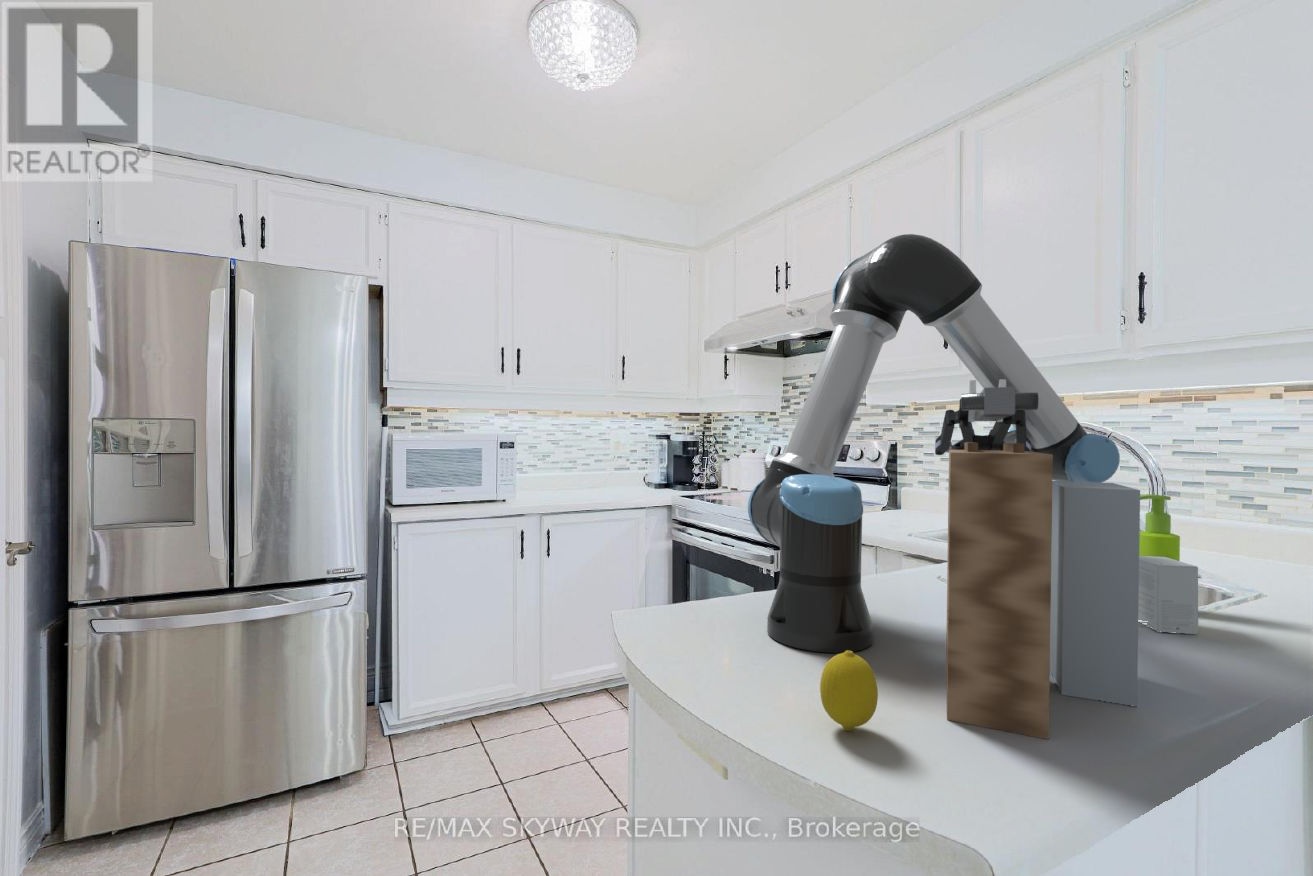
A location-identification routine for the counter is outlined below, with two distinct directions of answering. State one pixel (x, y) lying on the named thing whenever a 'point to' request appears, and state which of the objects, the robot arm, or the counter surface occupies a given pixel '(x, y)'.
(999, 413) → the dark grey bar
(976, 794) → the counter surface
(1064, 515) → the block
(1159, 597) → the small box
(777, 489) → the robot arm
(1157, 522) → the soap dispenser
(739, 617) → the counter surface
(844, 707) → the lemon
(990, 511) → the walnut stand
